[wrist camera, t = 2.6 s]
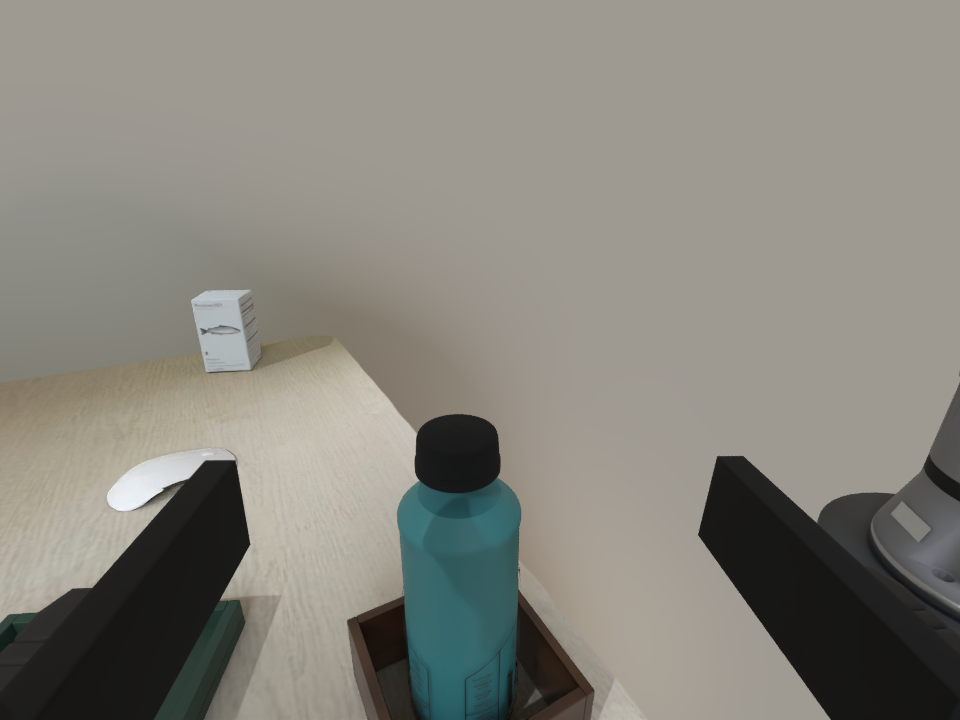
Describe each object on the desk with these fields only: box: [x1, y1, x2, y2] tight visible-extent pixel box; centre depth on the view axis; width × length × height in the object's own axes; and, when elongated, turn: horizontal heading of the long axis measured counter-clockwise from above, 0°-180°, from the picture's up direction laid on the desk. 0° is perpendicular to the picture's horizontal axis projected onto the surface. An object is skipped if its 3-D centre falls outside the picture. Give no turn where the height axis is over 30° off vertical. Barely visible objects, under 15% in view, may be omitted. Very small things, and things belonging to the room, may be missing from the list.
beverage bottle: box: [397, 414, 521, 720], centre depth 25 cm, size 6×7×20 cm
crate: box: [347, 590, 595, 720], centre depth 28 cm, size 11×11×5 cm
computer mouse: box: [107, 448, 237, 511], centre depth 51 cm, size 7×12×2 cm, turn 140°
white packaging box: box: [191, 290, 261, 373], centre depth 79 cm, size 7×7×13 cm
